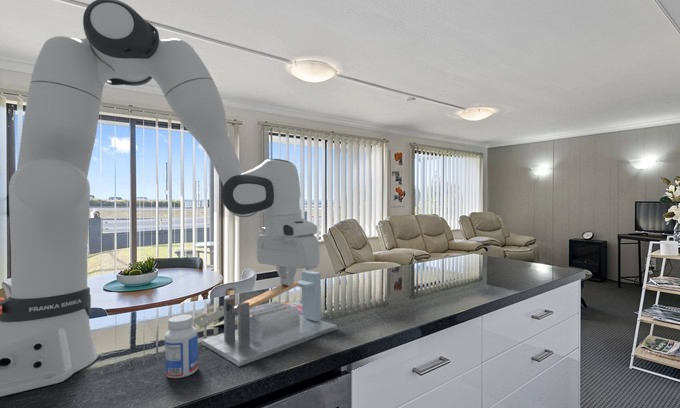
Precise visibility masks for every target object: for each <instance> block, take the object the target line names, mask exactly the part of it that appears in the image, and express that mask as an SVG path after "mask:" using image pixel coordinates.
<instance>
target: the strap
mask: <svg viewBox="0 0 680 408" xmlns="http://www.w3.org/2000/svg"><path fill="white" fill-rule="evenodd" d="M298 286H299V283H298V282H296V281H294V284H293V285H292V286H286V285H281V284H280V285H278V286H275V287H273V288H272V289H270V290H267V291H265V292H263V293H261V294H259V295H256V296H254V297H252V298H250V299H247V300H245V301H243V302H242V303H244V302H249V309H251V308H253V307H255V306H258V305H262V304H264V303H265V302H267V301H269V300H272V299H273V298H275V297H277V296H279V295H280V296H281V295H282V294H284V293H287V292H288V291H291V290H292V289H294V288H297V287H298ZM229 311H230V312H231V313H233V314H235V316H237V315H238V304H236V305H232V306H231V307H230V309H229Z"/></svg>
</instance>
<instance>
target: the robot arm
mask: <svg viewBox="0 0 680 408" xmlns="http://www.w3.org/2000/svg"><path fill="white" fill-rule="evenodd" d="M82 26H83V31H84V34H85V37H86V38H79V39H77V38H74V37H71V36H63V35H59V36H52V37H50V38H48V39H47V40H46V41H45V42H44V43H43V44H42V47H41V49H40V50H39V54H38V56H37V58H36V61H35V64H34V66H33V69H32V73H31V76H30V77H31V78H30V82H29V88H28V94H27V99H26V105H25V108H24V109H25V110H24V116H23V121H22V125H21V126H22V128H21V136H20V145H19V151H18V159H17V165H16V170H15V171H14V173H13V174H12V175H11V177H10V180H9V184H8V208H9V209H8V210H9V234H10V263H11V264H10V267H11V268H10V269H11V270H10V272H11V273H10V278H11V279H10V280H11V281H10V285H11V286H10V288H11V289H10V292H11V293H10V296H9V297H7V298H4V297H0V398H1V397H5V396H9V395H13V394H17V393H21V392H25V391H29V390H33V389H38V388H42V387H47V386H50V385H55V384H58V383H61V382H65V380H67V379H69V378H70V377H71V376H73V374H75V373H76V372H78V371H80V370H83V369H84V368H86V367H88V366H90V365H91V364H93V363H94V362H95V361H96V360H97V359H98V357H99V355H98V352H97V349H96V347H95V343H94V340H93V336H92V330H91V326H90V315H91V309H92V308H91V307H92V298H91V297H92V293H91V288H90V287H88V242H89V241H88V240H89V226H90V222H89V221H90V203H91V202H90V201H91V199H90V198H91V197H90V196H91V189H90V188H91V185H90V181H89V180H88V174H89V170H90V165H91V159H92V155H93V151H94V147H95V143H96V138H97V137H96V136H97V131H98V123H99V118H100V112H101V106H102V105H101V104H102V98H103V92H104V88H105V87H104V86H105V84H106V83H107V84H109V85H112V86H122V85H123V86H132V87H135V86H137V87H140V86H142V85H146V84H147V83H149V82H151V80H152V79H153V80H154V81H155V82H156V83H157V85H158V86H159V88H160V90H161V91H162V94H163V96H164V98H165V100H166V102H167V103H168V106H169V108H171V110H172V112H173V114H174V115H175V117H176V118H177V119H178V121H179V122H180V123H181V125H183V127H184V128H185V129H186V131H188V133H189V134H191V136H192V137H193V138H194V139H195V140H196V141H197V143H198V144H199V145H200V146H201V147H202V148H203V150H204V152H206V154H207V157H208V158H209V160H210V162H211V163H212V166H213V167H214V169H215V171H216V173H217V175H218V178H219V179H220V182H221V184H222V188H221V192H220V194H221V195H220V196H221V201H222V204H223V205H224V206H225V208H226V209H227V210H228V211H229V213H230V214H232V215H234V216H236V217H238V218H239V217H240V218H249V217H252V216H254V215H256V214H257V213H258V212H262V213H263V215H264V219H263V220H264V227H261V229H260V231H259V233H258V237H257V239H256V240H257V241H256V260H257V263H258V264H259V265H260V264H261V265H267V266H275V267H276V273H277V275H278V277H279V283H280V285H286V286H292V285H293V284H294V278H295V277H296V273H297V269H298V270H303V271H311V270H313V269H316V268H318V266H319V264H320V248H319V246H320V245H319V240H318V237H317V236H316V235H317V233H318V226H317V224H315V223H313V222H310V221H309V220H306V219H305V218H303V216H302V215H303V214H302V210H301V206H300V205H301V204H300V200H301V195H302V194H301V185H300V184H301V182H300V178H299V177H300V176H299V170H298V169H297V166H296V165H295V164H294V163H293V162H291V161H288V160H285V159H280V158H268V159H265V160H264V161H263V162H262V163H261V164H259V165H257V166H256V167H253V168H252V169H249V170H247V171H245V169H244V167H243V165H242V163H241V161H240V159H239V157H238V155H237V154H236V153H237V152H236V151H235V148H234V147H233V145H232V142H231V139H230V136H229V133H228V126H227V125H228V124H227V118H226V113H225V112H226V111H225V107H224V104H223V100H222V97H221V94H220V91H219V90H218V87H217V85H216V83H215V81H214V79H213V77H212V75H211V73H210V72H209V70H208V67H206V65H205V63H204V62H203V60H202V58H201V57H200V56H199V54H198V53H197V52H196V51H195V49H194V47H192V46H191V44H189V43H188V42H186V41H185V40H182V39H178V38H169V39H161V38H160V34H159V31H158V29H157V28H156V27H155V26H154V25H152V23H150V22H148V21H147V20H146V19H145V18H144V17H143V16H142V15H141V14H140V13H139V12H137V11H136V10H135V9H134V8H133V7H132V6H130V5H128V4H127V3H125V2H124V1H122V0H94V1H92V2H91V3H89V5H88V6H87V7H86V9H85V10H84V12H83V17H82Z"/></svg>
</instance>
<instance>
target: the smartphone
mask: <svg viewBox="0 0 680 408" xmlns="http://www.w3.org/2000/svg"><path fill="white" fill-rule="evenodd" d="M279 303H280V302H278V304H279ZM282 303H283V306H287V305H291V308H292V307H297V310H300V314H302V300H301V301H300V300H296V301H294V300H293V301H285V302H282Z"/></svg>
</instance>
